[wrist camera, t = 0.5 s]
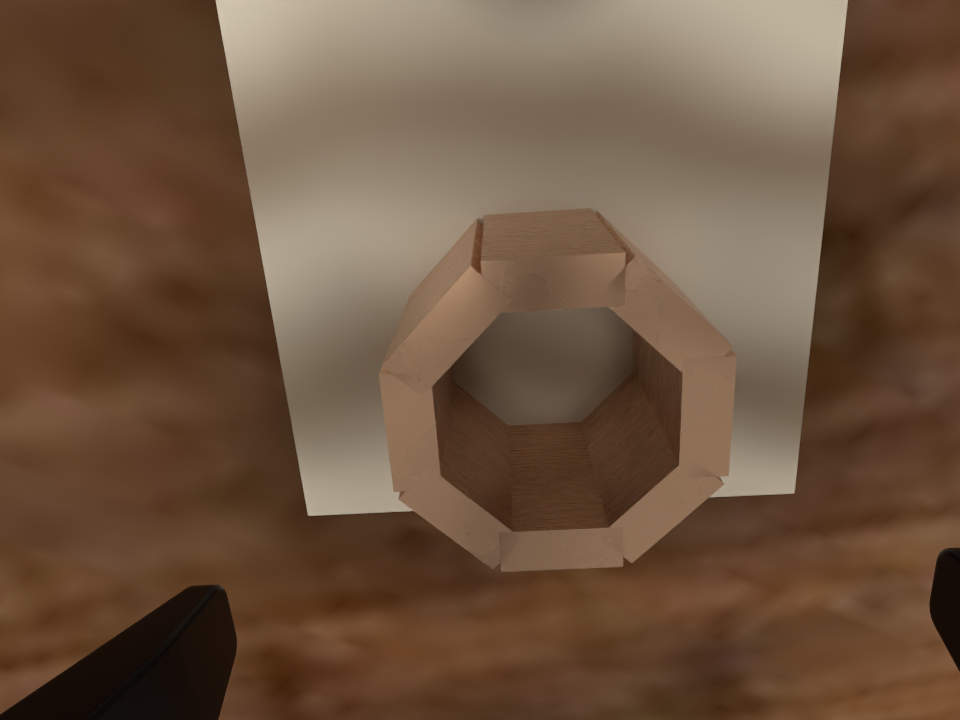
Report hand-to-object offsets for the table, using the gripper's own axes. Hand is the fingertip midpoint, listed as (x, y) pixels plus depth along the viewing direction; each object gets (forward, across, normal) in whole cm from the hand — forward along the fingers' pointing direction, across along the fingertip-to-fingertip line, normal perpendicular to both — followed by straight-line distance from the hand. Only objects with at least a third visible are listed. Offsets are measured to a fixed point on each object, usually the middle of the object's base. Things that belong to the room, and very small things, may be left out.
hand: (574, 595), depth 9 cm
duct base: (+12, 0, -5) cm, 13 cm away
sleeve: (+10, 0, 0) cm, 10 cm away
